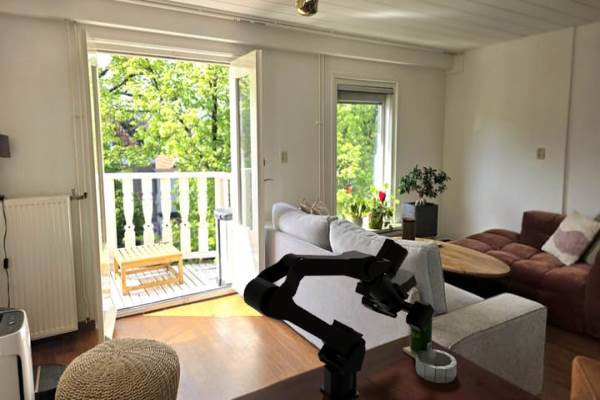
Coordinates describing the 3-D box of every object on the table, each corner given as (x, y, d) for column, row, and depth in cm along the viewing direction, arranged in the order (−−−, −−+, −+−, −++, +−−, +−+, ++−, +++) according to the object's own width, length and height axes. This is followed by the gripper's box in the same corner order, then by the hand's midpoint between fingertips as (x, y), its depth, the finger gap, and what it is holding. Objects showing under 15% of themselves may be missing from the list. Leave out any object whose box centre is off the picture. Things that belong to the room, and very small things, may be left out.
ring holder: (434, 386, 94) (435, 372, 94) (408, 367, 102) (408, 354, 102) (463, 377, 98) (464, 363, 98) (436, 359, 106) (436, 346, 106)
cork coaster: (419, 362, 105) (419, 359, 105) (402, 350, 111) (403, 347, 110) (439, 356, 107) (439, 353, 107) (422, 345, 113) (422, 342, 113)
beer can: (433, 349, 110) (435, 305, 108) (427, 358, 105) (429, 312, 103) (413, 344, 112) (414, 301, 111) (407, 352, 108) (408, 308, 106)
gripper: (431, 271, 92) (457, 307, 100) (370, 253, 107) (397, 286, 115) (407, 313, 89) (436, 347, 96) (347, 289, 103) (376, 320, 111)
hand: (410, 322), depth 105 cm, fingers open, 9 cm apart
